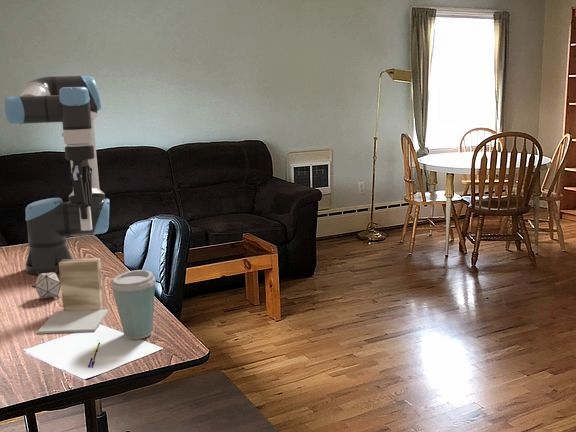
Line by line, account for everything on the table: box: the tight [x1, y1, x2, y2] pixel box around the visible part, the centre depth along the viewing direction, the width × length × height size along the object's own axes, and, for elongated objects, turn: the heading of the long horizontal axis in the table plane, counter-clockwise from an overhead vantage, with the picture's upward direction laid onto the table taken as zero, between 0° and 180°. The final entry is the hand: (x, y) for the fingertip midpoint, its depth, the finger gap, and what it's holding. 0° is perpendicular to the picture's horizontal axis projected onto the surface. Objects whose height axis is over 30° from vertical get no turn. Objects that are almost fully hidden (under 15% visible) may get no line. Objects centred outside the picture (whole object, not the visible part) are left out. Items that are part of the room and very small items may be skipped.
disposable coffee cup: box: [110, 269, 157, 340], centre depth 150 cm, size 11×11×15 cm
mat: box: [36, 308, 109, 335], centre depth 160 cm, size 14×14×1 cm
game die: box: [31, 270, 61, 302], centre depth 179 cm, size 9×8×10 cm
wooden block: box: [59, 257, 106, 311], centre depth 168 cm, size 4×10×14 cm, turn 92°
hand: (86, 229), depth 174 cm, fingers closed
